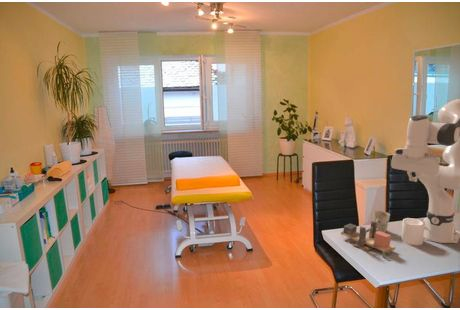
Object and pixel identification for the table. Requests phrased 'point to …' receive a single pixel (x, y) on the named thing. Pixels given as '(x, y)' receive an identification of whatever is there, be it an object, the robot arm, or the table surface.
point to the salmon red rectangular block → (382, 239)
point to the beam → (351, 233)
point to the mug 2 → (414, 231)
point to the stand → (361, 242)
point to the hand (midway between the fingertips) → (413, 181)
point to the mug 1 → (381, 220)
